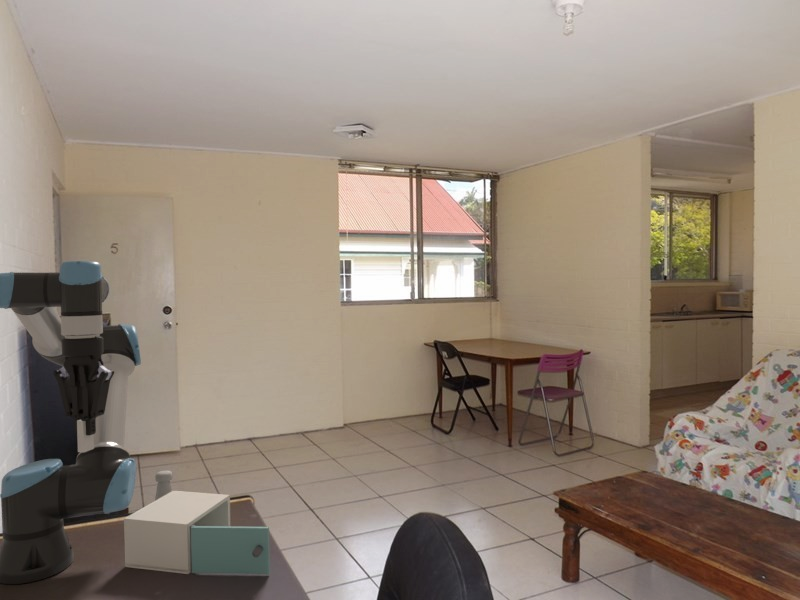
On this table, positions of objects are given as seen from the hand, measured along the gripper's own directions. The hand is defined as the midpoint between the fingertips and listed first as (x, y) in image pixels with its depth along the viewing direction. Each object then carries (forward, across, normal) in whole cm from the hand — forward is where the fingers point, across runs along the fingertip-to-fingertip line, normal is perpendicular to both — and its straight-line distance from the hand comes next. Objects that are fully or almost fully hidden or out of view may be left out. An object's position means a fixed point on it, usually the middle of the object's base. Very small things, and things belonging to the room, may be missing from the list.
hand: (85, 450), depth 119 cm
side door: (+29, -25, -11) cm, 40 cm away
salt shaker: (+30, +8, -36) cm, 47 cm away
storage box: (+29, -8, -20) cm, 36 cm away
